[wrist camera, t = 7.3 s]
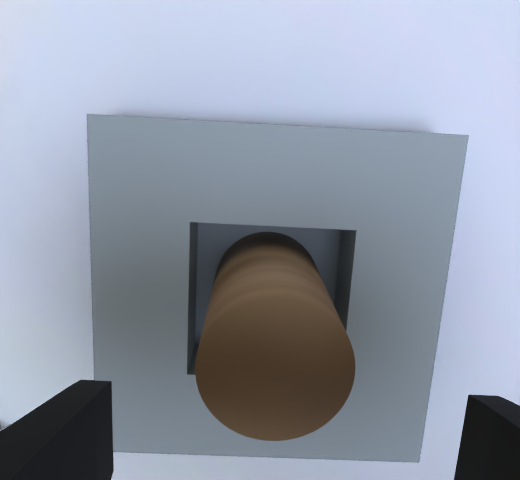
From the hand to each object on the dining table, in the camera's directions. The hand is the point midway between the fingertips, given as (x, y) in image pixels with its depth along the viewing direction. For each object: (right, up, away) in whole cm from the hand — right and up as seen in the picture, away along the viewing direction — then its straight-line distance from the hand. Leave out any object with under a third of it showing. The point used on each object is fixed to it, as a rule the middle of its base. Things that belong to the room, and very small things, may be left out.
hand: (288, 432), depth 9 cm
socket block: (0, +2, +10) cm, 10 cm away
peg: (0, +2, +9) cm, 9 cm away
